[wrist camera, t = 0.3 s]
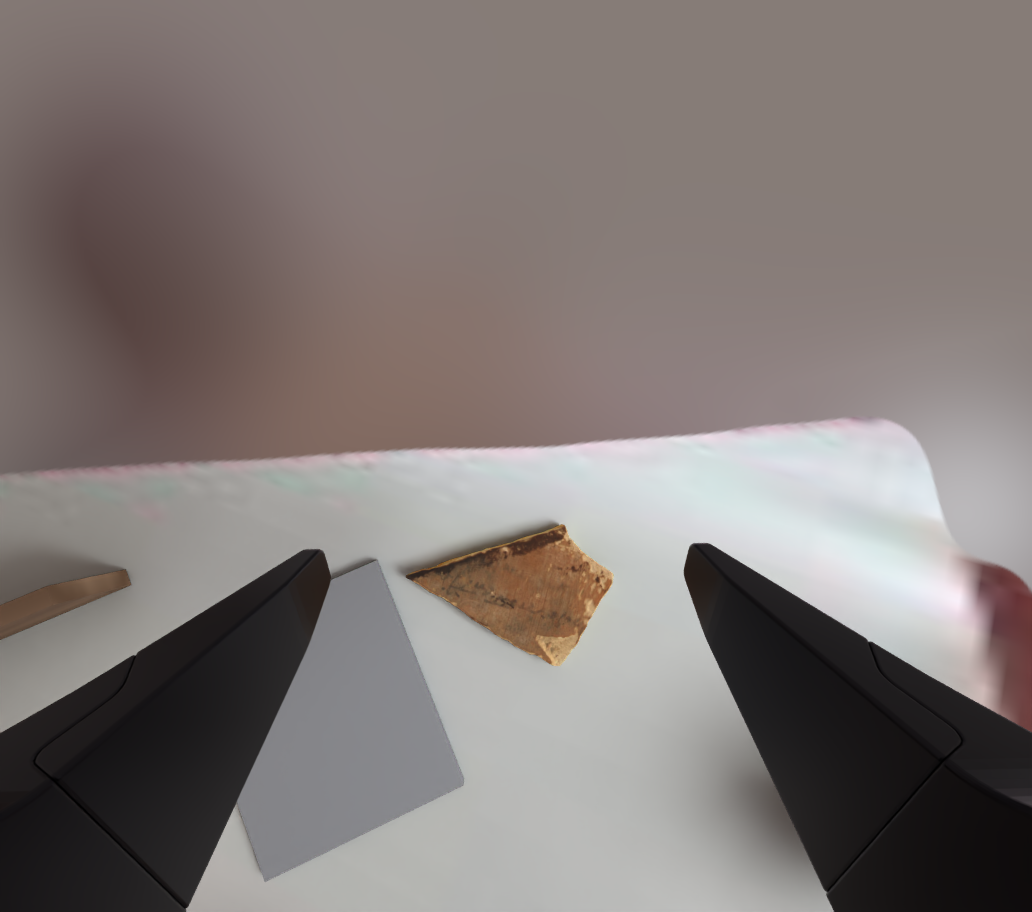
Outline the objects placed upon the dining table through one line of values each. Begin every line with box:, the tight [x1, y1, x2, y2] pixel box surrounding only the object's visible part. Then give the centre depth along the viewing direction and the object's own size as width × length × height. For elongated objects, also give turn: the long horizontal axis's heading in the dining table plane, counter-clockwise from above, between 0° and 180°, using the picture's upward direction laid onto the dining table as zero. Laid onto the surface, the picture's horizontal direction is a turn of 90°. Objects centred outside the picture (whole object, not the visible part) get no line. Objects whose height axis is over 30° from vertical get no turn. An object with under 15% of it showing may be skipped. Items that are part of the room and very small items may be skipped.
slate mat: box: [237, 560, 464, 882], centre depth 22 cm, size 14×12×1 cm
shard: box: [406, 524, 614, 666], centre depth 23 cm, size 11×8×2 cm
